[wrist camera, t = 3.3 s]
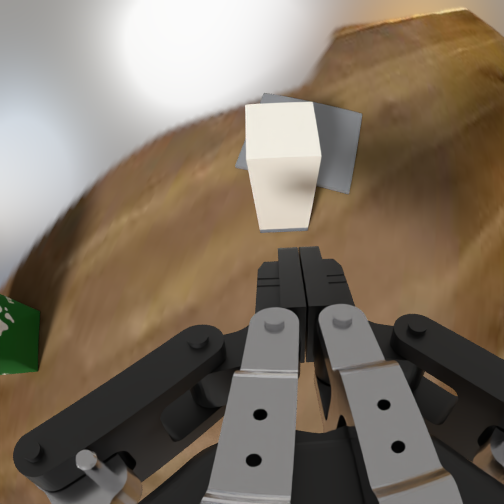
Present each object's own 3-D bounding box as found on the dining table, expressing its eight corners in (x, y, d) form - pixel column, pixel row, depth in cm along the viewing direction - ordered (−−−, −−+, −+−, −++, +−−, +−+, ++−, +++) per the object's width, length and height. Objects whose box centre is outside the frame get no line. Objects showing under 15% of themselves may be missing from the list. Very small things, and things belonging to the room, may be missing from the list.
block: (259, 190, 33) (245, 104, 20) (303, 188, 32) (312, 101, 20) (260, 232, 31) (246, 159, 19) (307, 230, 31) (321, 156, 19)
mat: (264, 95, 36) (263, 92, 36) (361, 115, 34) (362, 113, 34) (235, 167, 34) (235, 165, 33) (348, 194, 32) (349, 192, 31)
